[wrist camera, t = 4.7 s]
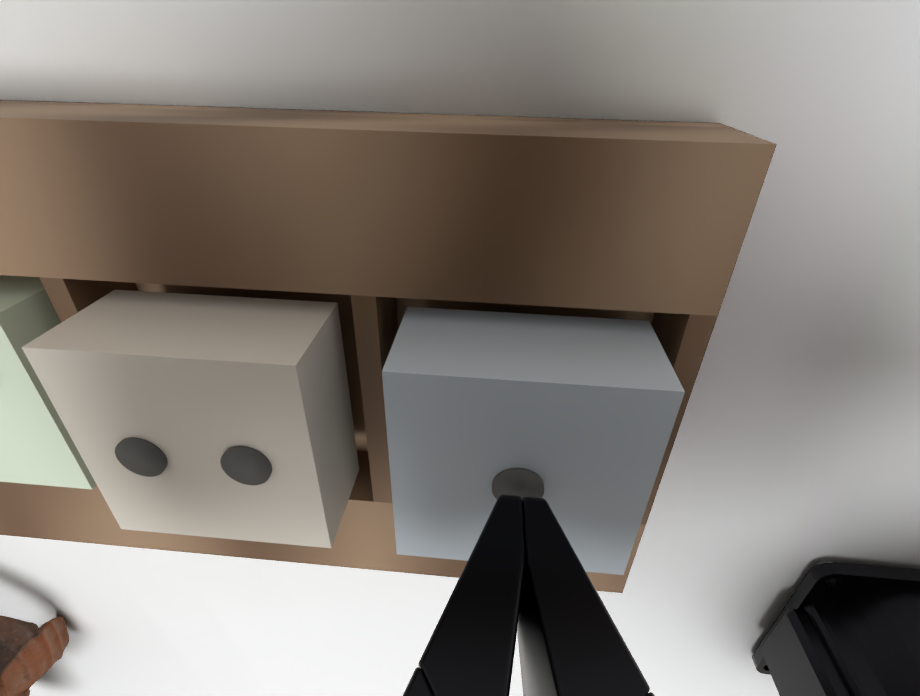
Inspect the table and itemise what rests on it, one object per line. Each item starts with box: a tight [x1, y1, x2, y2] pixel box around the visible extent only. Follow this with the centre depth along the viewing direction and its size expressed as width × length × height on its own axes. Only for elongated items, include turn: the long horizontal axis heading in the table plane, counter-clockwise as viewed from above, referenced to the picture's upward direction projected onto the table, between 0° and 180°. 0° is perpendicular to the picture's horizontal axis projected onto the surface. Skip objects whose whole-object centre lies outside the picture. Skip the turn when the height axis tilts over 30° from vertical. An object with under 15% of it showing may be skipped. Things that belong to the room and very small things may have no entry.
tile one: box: [382, 307, 685, 575], centre depth 10 cm, size 5×5×2 cm
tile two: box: [22, 290, 359, 548], centre depth 11 cm, size 5×5×2 cm
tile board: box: [0, 100, 777, 593], centre depth 12 cm, size 20×12×2 cm, turn 89°
